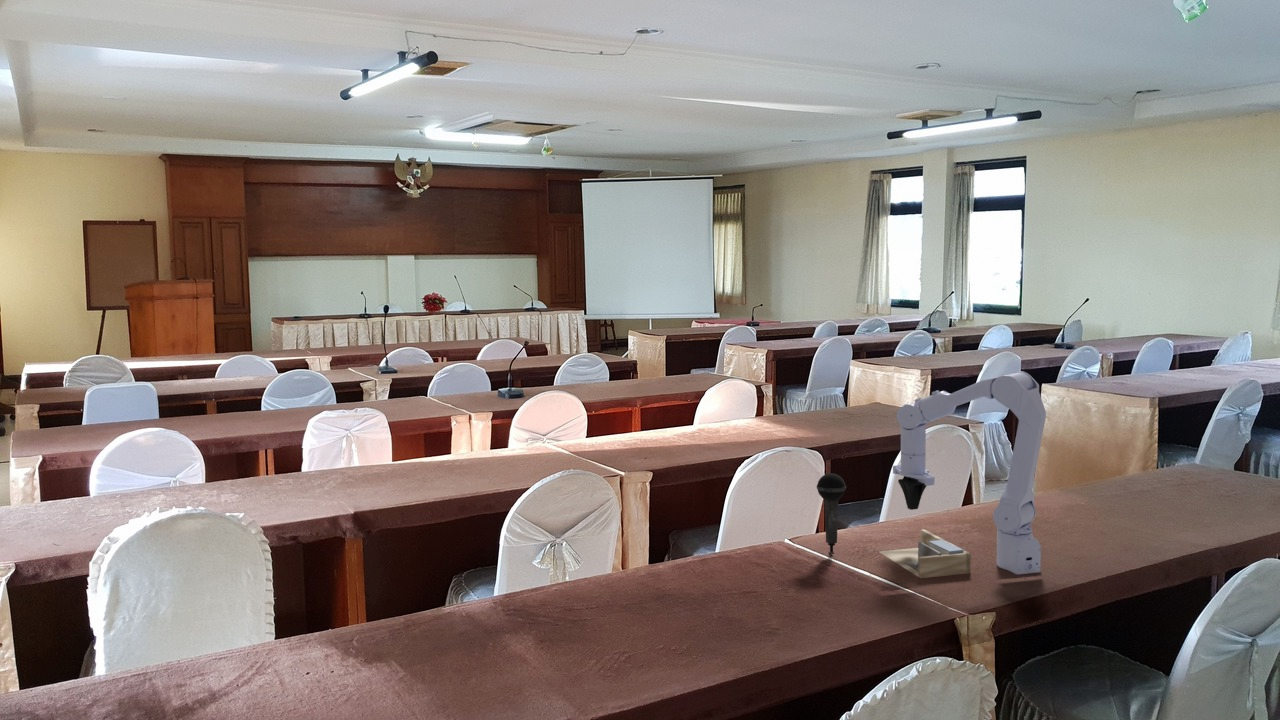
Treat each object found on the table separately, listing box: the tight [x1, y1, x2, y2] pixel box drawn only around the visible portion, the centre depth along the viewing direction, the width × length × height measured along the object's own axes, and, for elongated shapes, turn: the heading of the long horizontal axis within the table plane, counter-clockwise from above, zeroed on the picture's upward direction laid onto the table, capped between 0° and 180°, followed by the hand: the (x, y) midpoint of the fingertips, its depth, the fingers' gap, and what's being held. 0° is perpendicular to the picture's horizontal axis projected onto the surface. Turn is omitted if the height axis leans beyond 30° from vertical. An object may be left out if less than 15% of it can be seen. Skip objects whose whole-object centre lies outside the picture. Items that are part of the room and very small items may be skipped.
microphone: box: [816, 472, 847, 557], centre depth 223 cm, size 7×7×20 cm
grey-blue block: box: [929, 539, 964, 555], centre depth 212 cm, size 8×4×5 cm, turn 16°
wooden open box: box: [878, 529, 972, 579], centre depth 216 cm, size 20×12×6 cm, turn 12°
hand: (912, 508), depth 228 cm, fingers closed
